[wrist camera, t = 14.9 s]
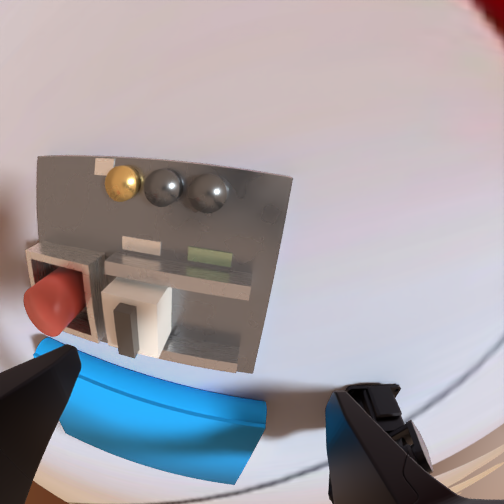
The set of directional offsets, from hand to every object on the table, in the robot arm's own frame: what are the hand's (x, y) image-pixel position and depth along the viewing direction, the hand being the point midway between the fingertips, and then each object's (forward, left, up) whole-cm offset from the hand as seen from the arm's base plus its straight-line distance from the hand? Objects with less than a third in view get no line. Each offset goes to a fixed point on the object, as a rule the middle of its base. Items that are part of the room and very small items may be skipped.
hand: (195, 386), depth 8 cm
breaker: (-4, +6, -11) cm, 14 cm away
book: (-22, +8, -13) cm, 27 cm away
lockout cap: (-4, +13, -11) cm, 18 cm away
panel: (-2, +7, -13) cm, 14 cm away
